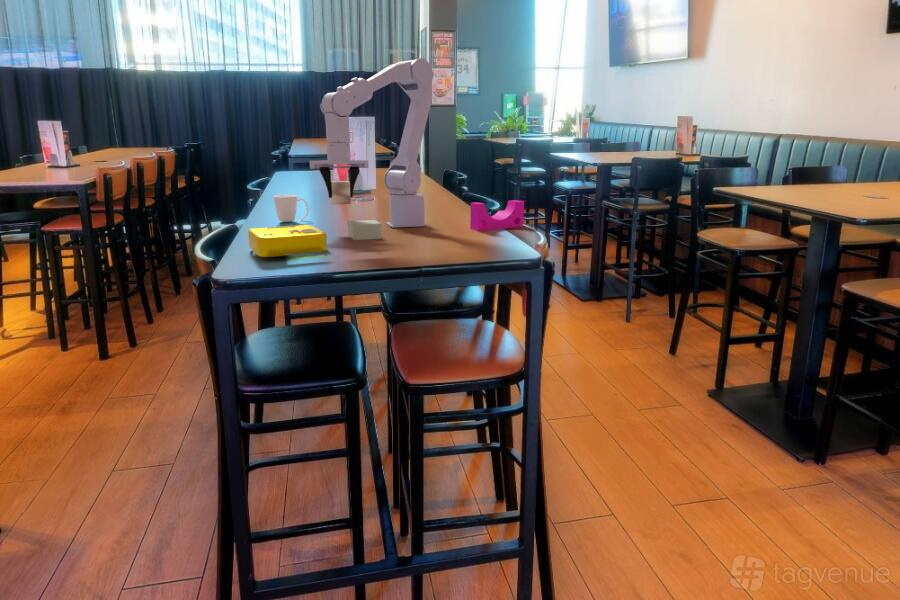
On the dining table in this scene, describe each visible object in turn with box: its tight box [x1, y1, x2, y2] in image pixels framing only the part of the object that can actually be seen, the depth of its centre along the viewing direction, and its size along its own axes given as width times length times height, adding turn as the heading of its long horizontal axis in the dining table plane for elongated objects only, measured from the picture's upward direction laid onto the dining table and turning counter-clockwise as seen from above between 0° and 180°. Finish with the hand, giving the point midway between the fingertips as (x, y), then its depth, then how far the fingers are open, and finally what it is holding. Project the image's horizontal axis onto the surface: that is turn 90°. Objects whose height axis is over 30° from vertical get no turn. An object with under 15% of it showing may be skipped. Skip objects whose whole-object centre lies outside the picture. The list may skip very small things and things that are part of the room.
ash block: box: [330, 180, 352, 206], centre depth 156 cm, size 4×4×6 cm
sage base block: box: [347, 219, 383, 241], centre depth 153 cm, size 7×7×4 cm
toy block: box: [469, 199, 525, 232], centre depth 168 cm, size 15×6×8 cm, turn 120°
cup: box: [273, 194, 310, 223], centre depth 175 cm, size 7×10×8 cm
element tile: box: [248, 224, 328, 258], centre depth 138 cm, size 15×15×5 cm
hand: (340, 197), depth 156 cm, fingers closed on ash block, 4 cm apart
